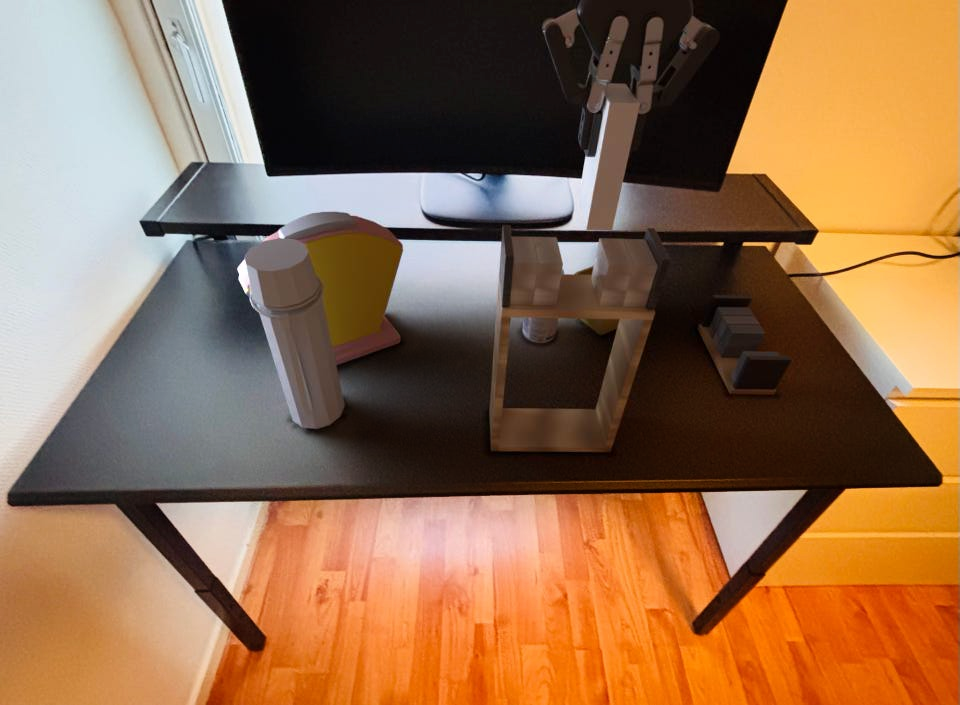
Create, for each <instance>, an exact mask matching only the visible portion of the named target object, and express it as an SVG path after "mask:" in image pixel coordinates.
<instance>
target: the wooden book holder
mask: <svg viewBox="0 0 960 705" xmlns="http://www.w3.org/2000/svg"><path fill="white" fill-rule="evenodd" d="M499 256H500V258H499V272H498V281H499V294H500V308H501V317H511V318H517V319H519V318H520V319H521V318H523V319H524V318H558V319H574V320H575V319H577V320H579V319H580V320H581V319H634V320H654V318H655V315H656V311H655V310H656V308H657V304H658V302H659V298H660V295H661V292H662V289H663V285H664V282H665V279H666V277H667V273H668V271H669V267H670V264H671V258H670V256H669V253H668V252H667V250H666V248H665V246H664V244H663V242H662V240H661V239H660V237H659V234H658V232H657V231H656V229H655V228H654V227H653V228H652V227H650V228H649V227H647V228H646V231H645V234H644V238H607V237H606V238H605V237H602V238H601V237H599V238H598V244H597V249H596V254H595V259H594V263H593V266H594V267H593V272H592V275H576V274H575V273H574V274H572V273H571V274H567V273H564V274H561V273H562V269H563V267H564V263H563V262H564V261H563V258H562V254H561V250H560V245H559V241H558V238H557V236H515V235H514V236H512V228H511V225H510V224H502V228H501V244H500V255H499Z"/></svg>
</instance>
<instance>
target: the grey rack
mask: <svg viewBox="0 0 960 705" xmlns="http://www.w3.org/2000/svg"><path fill="white" fill-rule="evenodd" d="M751 301H752V296H751V295H746V294H745V295H743V294H742V295H739V294H737V295H735V294H731V295H730V294H712V296H711V299H710V301H709V303H708V306H707V309H706V311H705V314H704V316H703V319H702V321H701V323H699V324H698V327H697V331H698V332H699V335H700V336H701V339H702V341H703V343H704V345H705V347H706V349H707V351H708V353H709V355H710V357H711V359H712V361H713V362H714V365H715V367H716V370H717V371H718V373H719V375H720V377H721V379H722V381H723V383H724V385H725V387H726V389H727V391H728V393H729V395H761V396H762V395H763V396H764V395H767V396H768V395H771V396H774V395H775V394H776V392H777V387H778V385H779V384H780V382H781V380H782V378H784V375H785V373H786V371H787V370H788V368H789V366H790V365H791V364H792V361H793V359H792V357H791V356H790V355H781V354H779V352H778V351H759V350H758V349H759V347H760V346H761V344H762V341H763V340H764V337H765V336H766V331H765V330H764V328H763V327H762V326H761V325H760V322H759V321H758V319H757V318H756V316H755V314H754V313H753V311H752V310H751V308H750V307H749V305H750V303H751Z"/></svg>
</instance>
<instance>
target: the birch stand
mask: <svg viewBox="0 0 960 705" xmlns="http://www.w3.org/2000/svg"><path fill="white" fill-rule="evenodd" d="M495 310H496V312H495V325H494V340H493V353H492V354H493V355H492V356H493V357H492V370H491V385H490V399H489V436H490V437H489V438H490V439H489V440H490V452H549V453H550V452H551V453H553V452H556V453H559V452H560V453H561V452H562V453H563V452H564V453H565V452H566V453H567V452H568V453H569V452H570V453H611V452H612V448H613V445H614V443H615V439H616V436H617V433H618V430H619V427H620V423H621V420H622V418H623V415H624V411H625V408H626V405H627V402H628V398H629V395H630V393H631V389H632V387H633V383H634V381H635V380H634V379H635V377H636V374H637V370H638V367H639V364H640V361H641V359H642V356H643V353H644V349H645V346H646V342H647V339H648V336H649V334H650V331H651V327H652V324H653V320H654V319H653V320H634V319H620V320H619V324H618V328H617V329H616V332H615V336H614V340H613V343H612V347H611V351H610V354H609V358H608V362H607V365H606V369H605V373H604V377H603V380H602V384H601V388H600V392H599V396H598V399H597V403H596V405H595V406H596V407H595V408H530V407H529V408H527V407H526V408H524V407H523V408H522V407H521V408H519V407H517V408H515V407H513V408H512V407H511V408H510V407H504V398H505V387H506V377H507V376H506V375H507V367H508V366H507V364H508V352H509V342H510V332H511V321H512V317H501V308H500V294H499V280H498V281H497V296H496V309H495Z"/></svg>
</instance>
